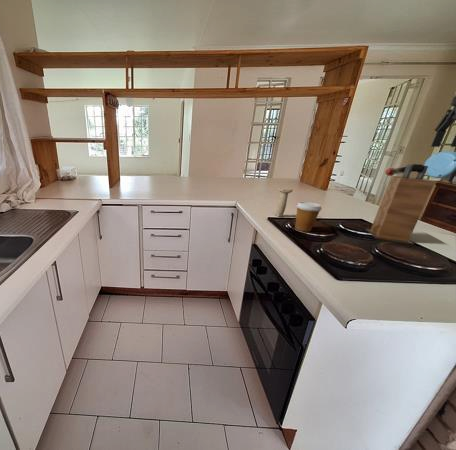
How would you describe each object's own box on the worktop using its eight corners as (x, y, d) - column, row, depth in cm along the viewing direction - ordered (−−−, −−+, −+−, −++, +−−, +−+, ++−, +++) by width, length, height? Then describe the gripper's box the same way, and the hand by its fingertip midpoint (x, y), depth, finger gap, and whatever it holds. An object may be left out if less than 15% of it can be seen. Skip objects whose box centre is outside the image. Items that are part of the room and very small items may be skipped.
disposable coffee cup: (310, 234, 102) (317, 208, 98) (287, 228, 109) (293, 203, 105) (318, 230, 108) (325, 205, 104) (296, 224, 114) (302, 200, 110)
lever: (382, 175, 111) (385, 168, 110) (392, 176, 110) (394, 168, 109) (411, 172, 91) (414, 162, 90) (423, 172, 90) (426, 163, 89)
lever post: (364, 231, 109) (390, 163, 98) (397, 236, 105) (428, 165, 94) (375, 240, 98) (405, 165, 88) (412, 246, 94) (449, 168, 84)
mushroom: (274, 213, 130) (280, 187, 125) (286, 216, 127) (293, 189, 122) (271, 215, 127) (277, 188, 122) (284, 218, 123) (291, 190, 118)
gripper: (436, 100, 114) (418, 146, 121) (478, 89, 92) (452, 146, 99) (458, 99, 111) (437, 147, 118) (505, 88, 89) (477, 147, 97)
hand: (444, 146), depth 109 cm, fingers open, 13 cm apart
